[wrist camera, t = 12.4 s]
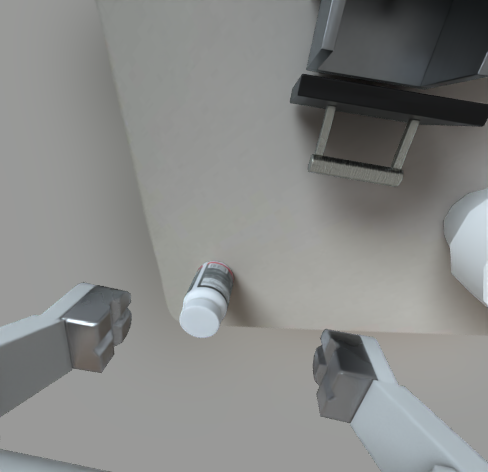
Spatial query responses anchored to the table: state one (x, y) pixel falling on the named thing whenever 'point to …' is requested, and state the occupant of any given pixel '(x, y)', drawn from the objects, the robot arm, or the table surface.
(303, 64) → the table surface
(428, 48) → the drawer
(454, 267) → the potted plant
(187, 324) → the pill bottle
